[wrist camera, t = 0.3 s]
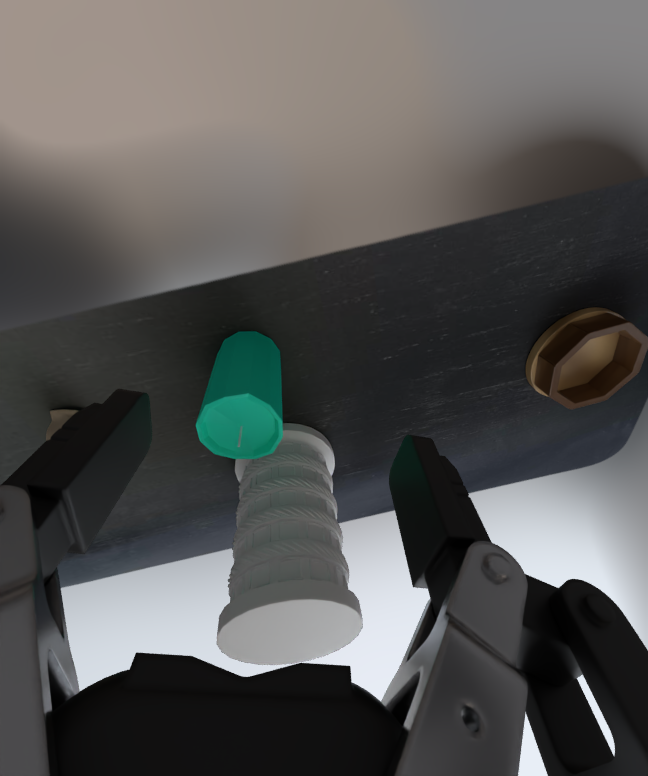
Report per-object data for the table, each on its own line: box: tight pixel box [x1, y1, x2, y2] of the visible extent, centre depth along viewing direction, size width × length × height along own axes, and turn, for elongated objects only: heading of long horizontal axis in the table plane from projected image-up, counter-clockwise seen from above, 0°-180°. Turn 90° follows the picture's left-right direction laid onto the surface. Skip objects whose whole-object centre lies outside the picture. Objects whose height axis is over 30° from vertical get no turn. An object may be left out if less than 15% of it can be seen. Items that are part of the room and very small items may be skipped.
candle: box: [196, 331, 283, 459], centre depth 27 cm, size 6×6×12 cm
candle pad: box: [526, 307, 648, 409], centre depth 35 cm, size 10×10×4 cm
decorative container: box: [217, 423, 363, 665], centre depth 32 cm, size 12×12×18 cm
